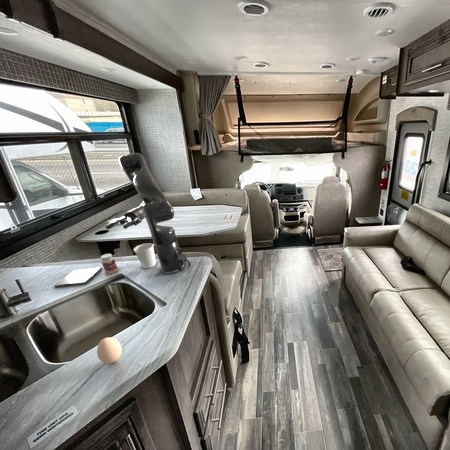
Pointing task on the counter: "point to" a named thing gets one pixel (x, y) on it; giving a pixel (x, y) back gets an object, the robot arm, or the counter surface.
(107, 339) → the egg
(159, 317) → the counter surface
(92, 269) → the mat
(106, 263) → the pill bottle
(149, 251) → the dixie cup
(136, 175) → the robot arm
